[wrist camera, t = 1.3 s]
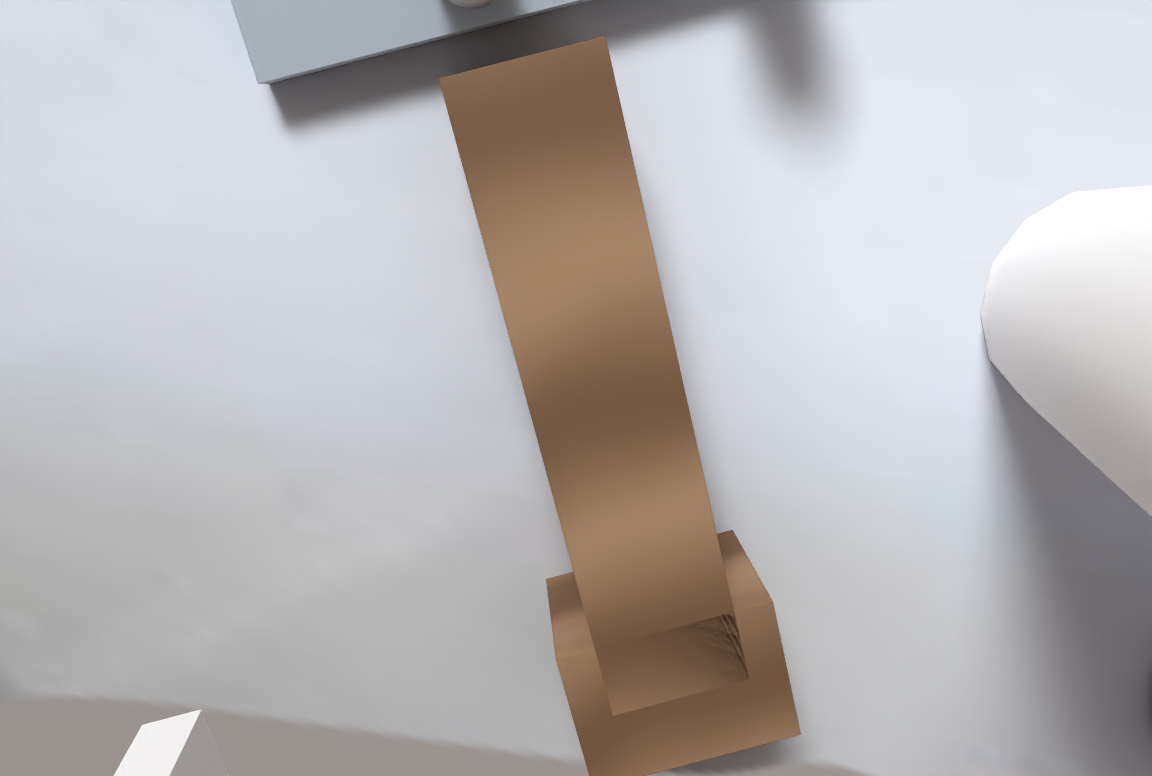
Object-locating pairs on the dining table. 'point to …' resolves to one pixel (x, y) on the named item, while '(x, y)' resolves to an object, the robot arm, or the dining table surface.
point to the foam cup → (1082, 326)
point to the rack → (360, 28)
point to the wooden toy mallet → (614, 428)
